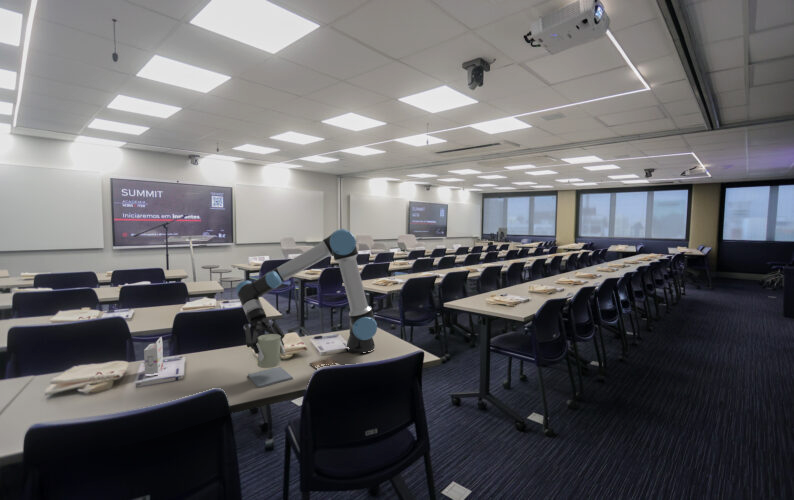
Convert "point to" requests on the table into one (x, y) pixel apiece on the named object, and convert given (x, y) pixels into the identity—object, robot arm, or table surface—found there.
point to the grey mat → (269, 377)
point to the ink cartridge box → (154, 357)
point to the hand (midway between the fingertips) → (273, 356)
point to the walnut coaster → (324, 362)
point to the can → (269, 350)
